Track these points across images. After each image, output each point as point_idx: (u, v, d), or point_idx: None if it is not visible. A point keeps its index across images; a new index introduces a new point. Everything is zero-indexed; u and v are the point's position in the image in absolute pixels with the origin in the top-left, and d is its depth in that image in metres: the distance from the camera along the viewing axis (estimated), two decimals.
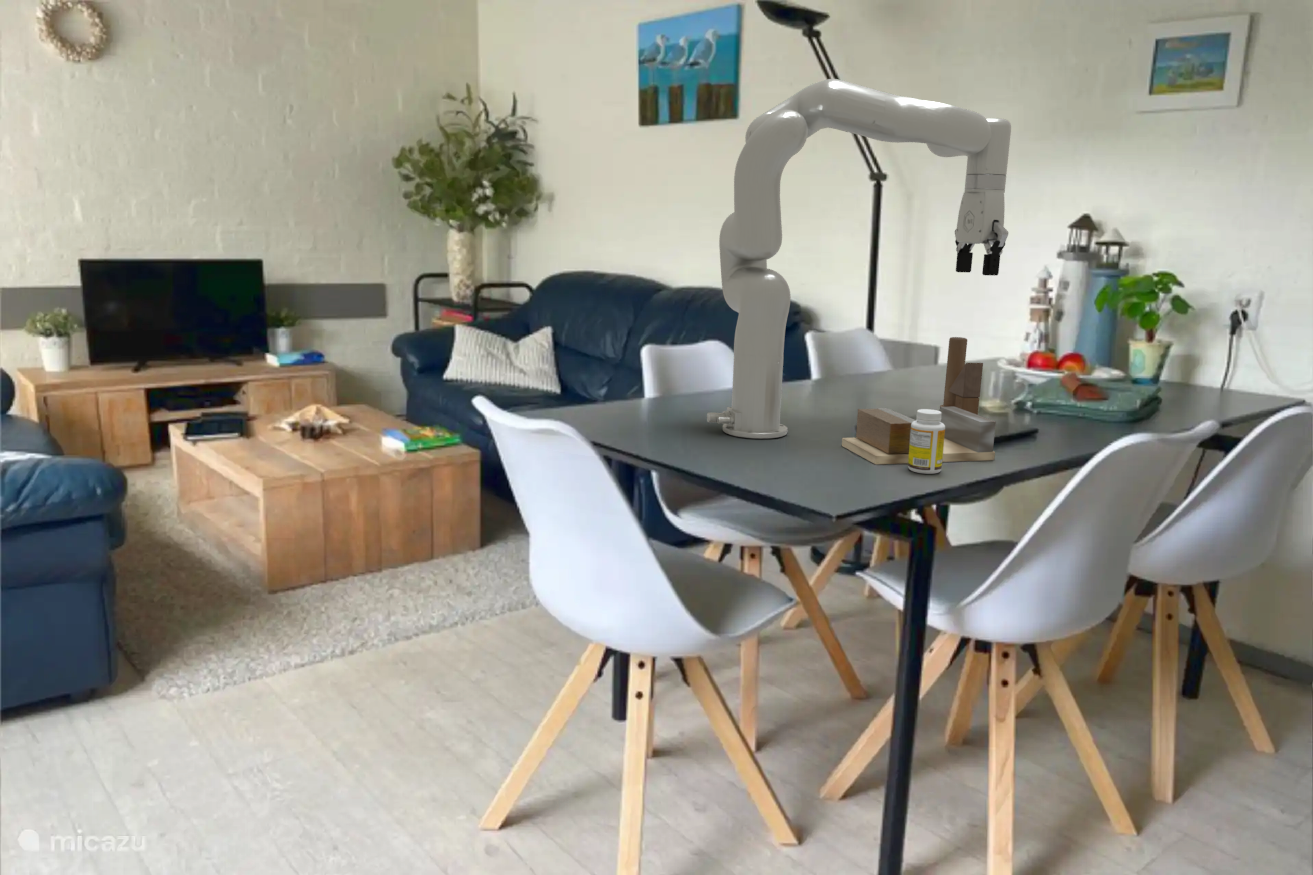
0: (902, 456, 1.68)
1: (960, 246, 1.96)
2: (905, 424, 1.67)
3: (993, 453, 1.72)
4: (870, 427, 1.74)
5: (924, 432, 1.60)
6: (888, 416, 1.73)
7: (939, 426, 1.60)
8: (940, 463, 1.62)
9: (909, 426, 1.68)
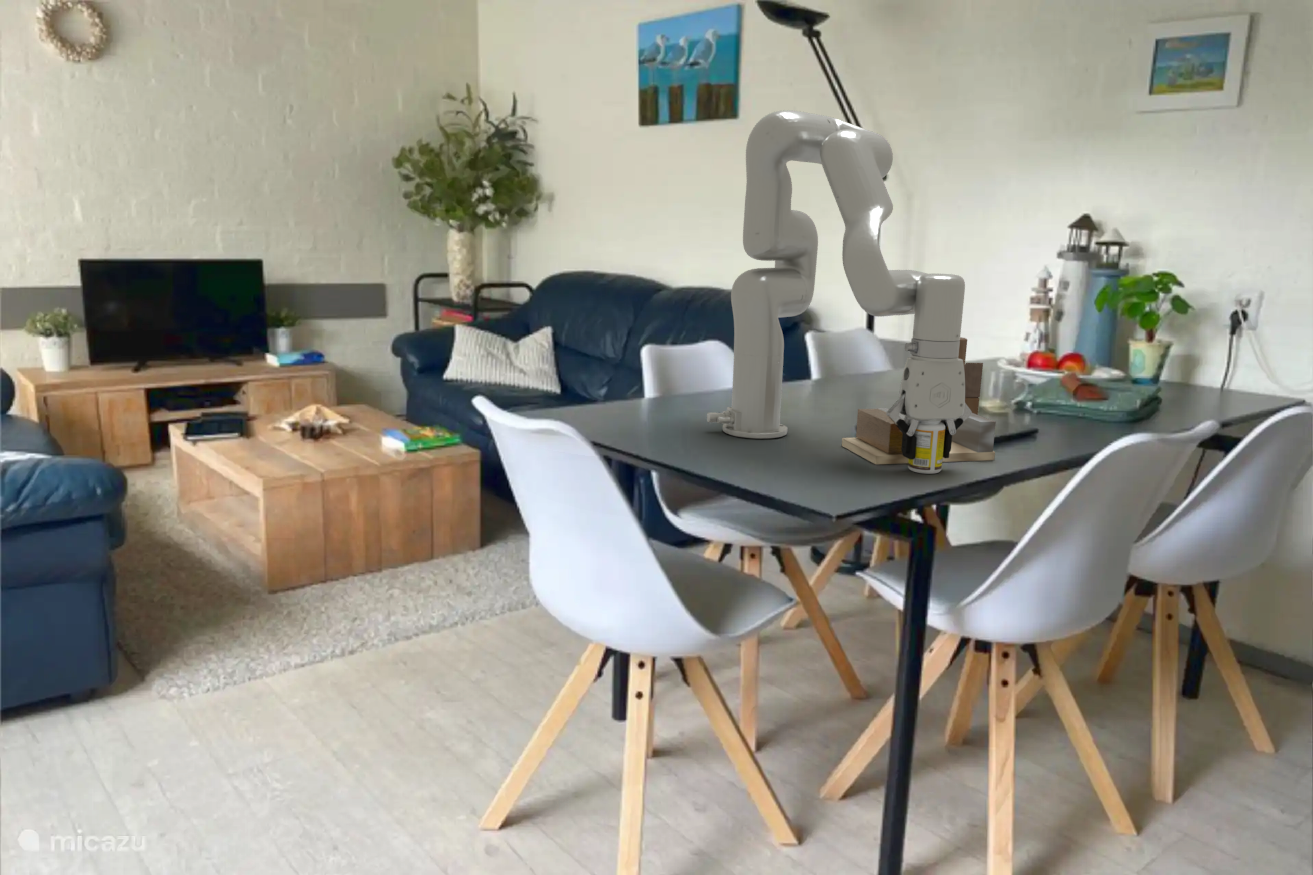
0: (902, 456, 1.68)
1: (914, 427, 1.60)
2: None
3: (993, 453, 1.72)
4: (870, 427, 1.74)
5: (924, 431, 1.60)
6: None
7: (939, 426, 1.60)
8: (940, 463, 1.62)
9: None
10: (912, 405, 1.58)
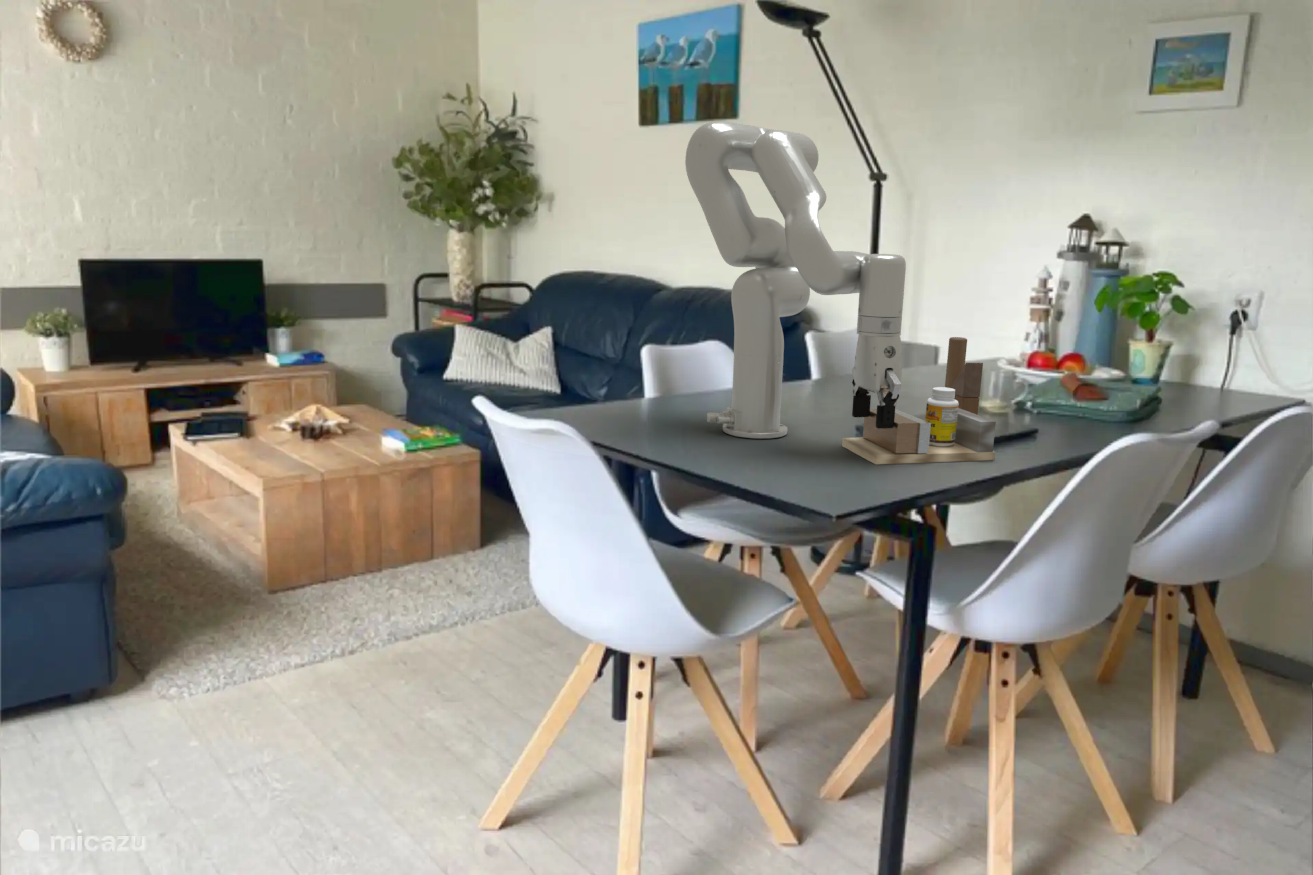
0: (902, 456, 1.68)
1: None
2: (912, 424, 1.68)
3: (993, 453, 1.72)
4: None
5: None
6: (895, 416, 1.73)
7: None
8: None
9: (916, 426, 1.68)
10: None
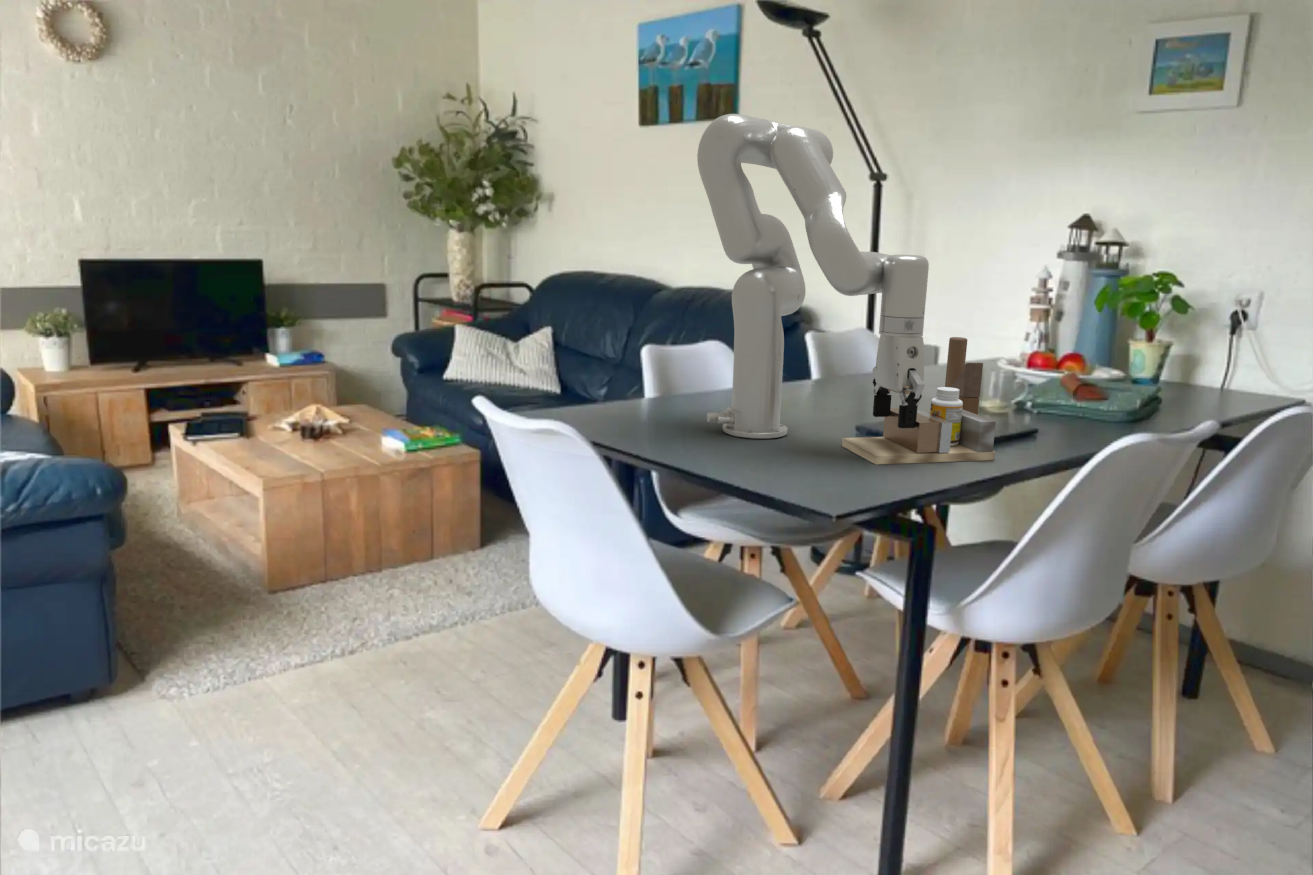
0: (902, 456, 1.68)
1: None
2: (934, 423, 1.69)
3: (993, 453, 1.72)
4: None
5: (962, 406, 1.75)
6: None
7: None
8: None
9: (938, 425, 1.69)
10: (923, 379, 1.68)
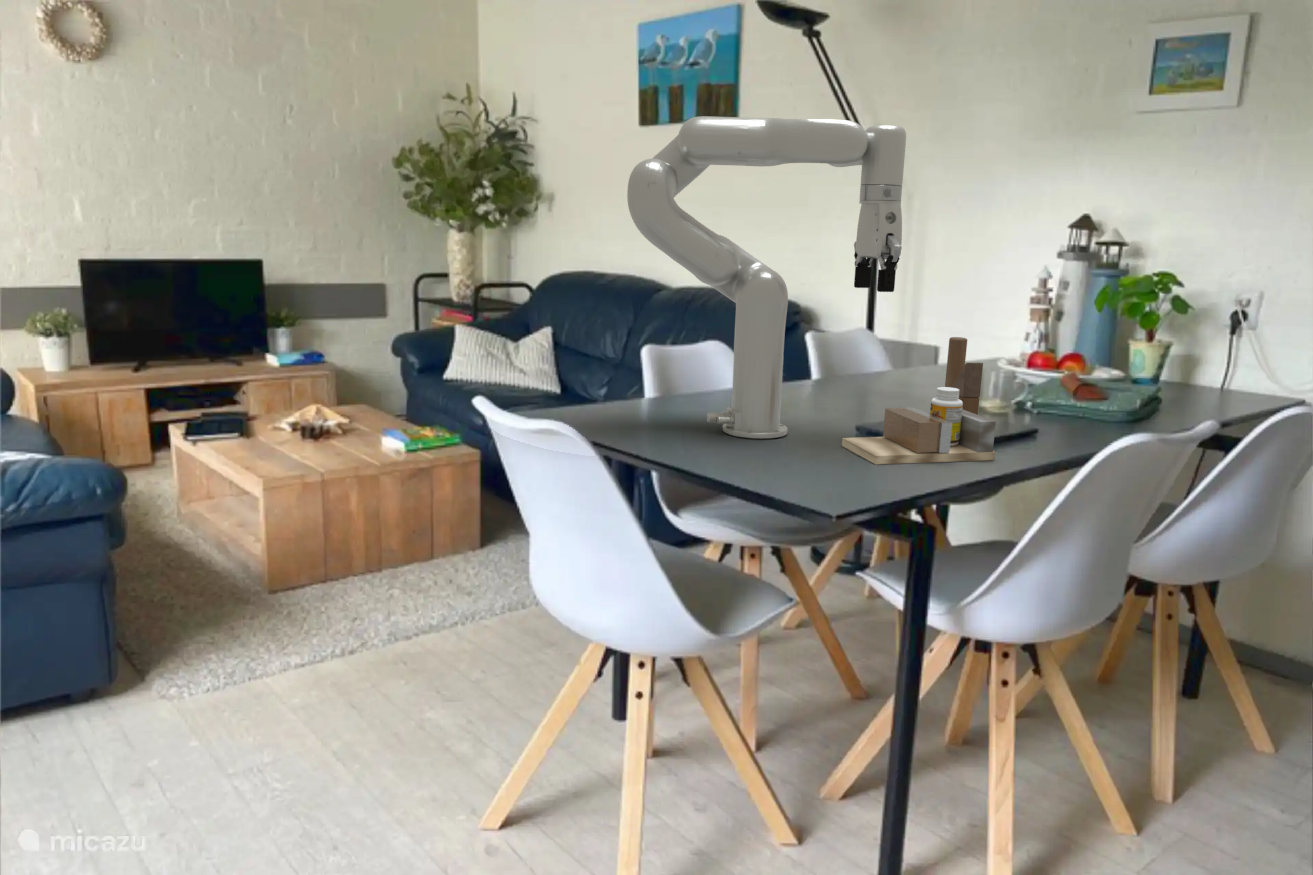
0: (902, 456, 1.68)
1: None
2: (934, 423, 1.69)
3: (993, 453, 1.72)
4: (898, 426, 1.75)
5: (962, 406, 1.75)
6: (916, 415, 1.74)
7: None
8: None
9: (938, 425, 1.69)
10: None
